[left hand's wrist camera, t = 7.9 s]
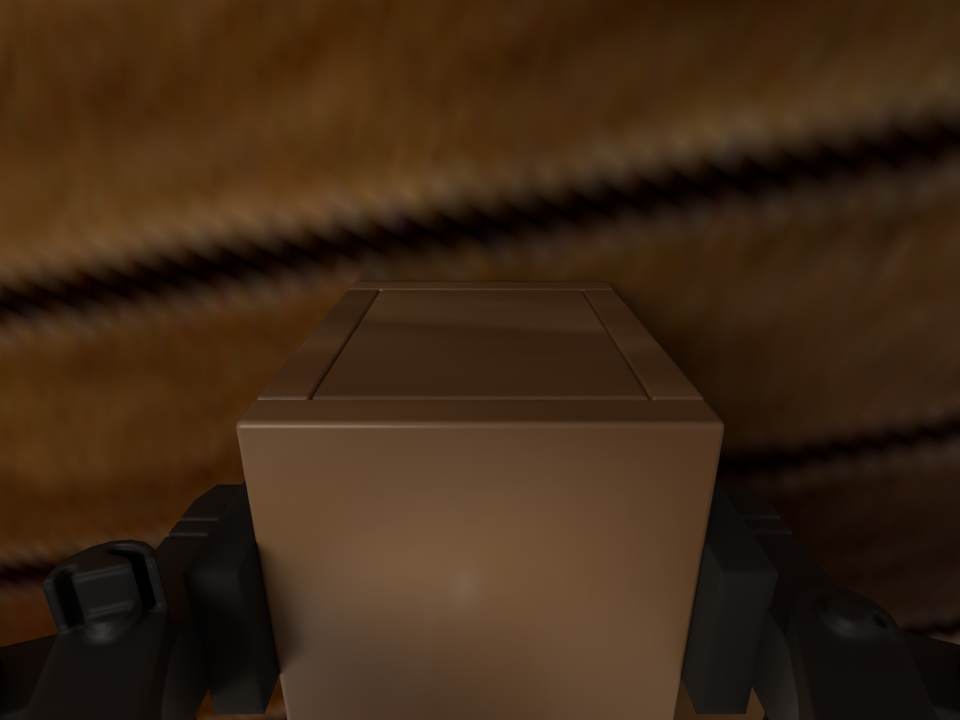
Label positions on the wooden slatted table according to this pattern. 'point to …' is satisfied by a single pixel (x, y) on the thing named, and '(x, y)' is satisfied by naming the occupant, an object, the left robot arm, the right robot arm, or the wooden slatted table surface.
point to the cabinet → (480, 506)
